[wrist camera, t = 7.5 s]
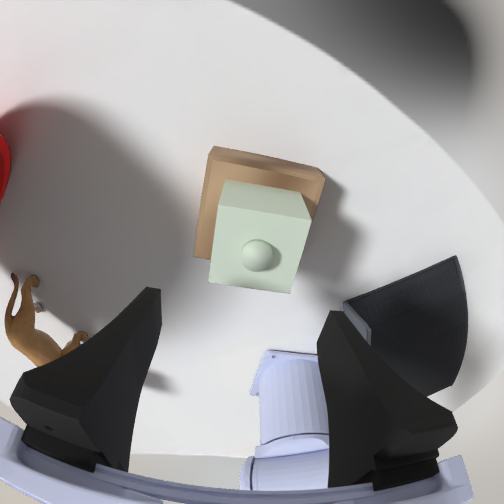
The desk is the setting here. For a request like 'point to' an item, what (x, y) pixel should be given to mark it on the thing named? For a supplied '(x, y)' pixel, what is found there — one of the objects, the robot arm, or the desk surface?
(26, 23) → the desk surface
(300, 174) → the base brick
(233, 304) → the desk surface
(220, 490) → the robot arm
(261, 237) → the sage brick
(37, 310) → the lion figurine
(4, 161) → the toy clock
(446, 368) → the external hard drive
